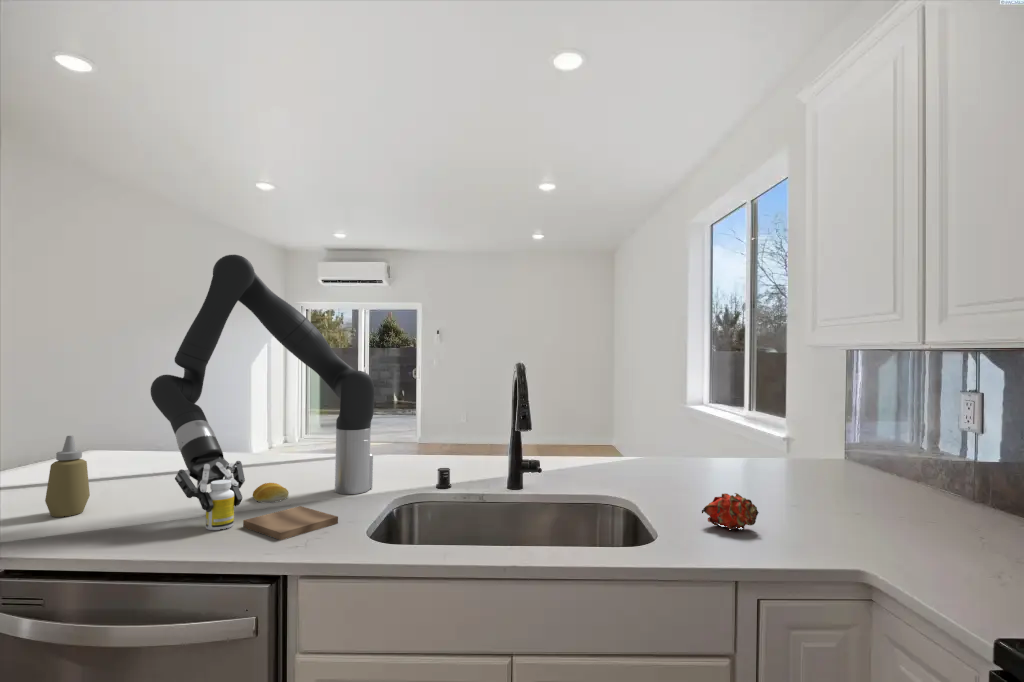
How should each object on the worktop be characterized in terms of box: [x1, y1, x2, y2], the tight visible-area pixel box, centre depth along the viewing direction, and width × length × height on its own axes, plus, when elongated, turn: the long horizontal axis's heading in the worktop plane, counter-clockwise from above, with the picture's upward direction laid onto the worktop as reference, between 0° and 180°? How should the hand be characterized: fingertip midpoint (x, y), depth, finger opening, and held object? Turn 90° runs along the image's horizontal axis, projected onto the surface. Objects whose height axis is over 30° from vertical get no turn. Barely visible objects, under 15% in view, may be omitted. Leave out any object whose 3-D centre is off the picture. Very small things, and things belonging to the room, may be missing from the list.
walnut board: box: [242, 505, 339, 541], centre depth 121 cm, size 14×14×2 cm
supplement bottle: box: [205, 480, 235, 531], centre depth 119 cm, size 5×5×10 cm
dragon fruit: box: [701, 492, 760, 530], centre depth 123 cm, size 8×8×12 cm
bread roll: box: [252, 482, 289, 503], centre depth 143 cm, size 8×9×4 cm
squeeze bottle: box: [44, 435, 91, 518], centre depth 128 cm, size 8×8×18 cm
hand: (224, 506), depth 118 cm, fingers closed on supplement bottle, 5 cm apart
